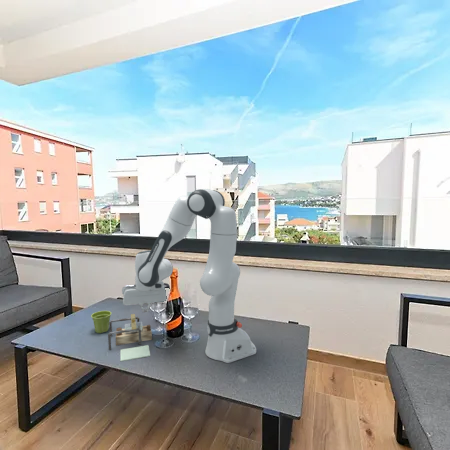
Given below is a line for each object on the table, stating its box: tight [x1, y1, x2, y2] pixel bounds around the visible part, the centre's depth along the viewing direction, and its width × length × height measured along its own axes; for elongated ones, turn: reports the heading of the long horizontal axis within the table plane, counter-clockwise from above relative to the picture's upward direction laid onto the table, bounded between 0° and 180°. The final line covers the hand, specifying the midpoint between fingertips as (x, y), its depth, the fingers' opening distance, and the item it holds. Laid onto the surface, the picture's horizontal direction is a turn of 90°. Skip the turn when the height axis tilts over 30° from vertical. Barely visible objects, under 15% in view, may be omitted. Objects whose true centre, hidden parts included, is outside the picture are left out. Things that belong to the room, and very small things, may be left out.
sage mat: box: [119, 344, 151, 362], centre depth 126 cm, size 12×9×1 cm
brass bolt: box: [130, 313, 137, 330], centre depth 138 cm, size 2×15×2 cm, turn 19°
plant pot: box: [90, 310, 112, 334], centre depth 147 cm, size 9×9×9 cm
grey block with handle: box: [124, 321, 143, 335], centre depth 139 cm, size 8×4×5 cm, turn 109°
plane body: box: [107, 316, 153, 351], centre depth 138 cm, size 19×14×8 cm
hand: (145, 311), depth 140 cm, fingers closed
